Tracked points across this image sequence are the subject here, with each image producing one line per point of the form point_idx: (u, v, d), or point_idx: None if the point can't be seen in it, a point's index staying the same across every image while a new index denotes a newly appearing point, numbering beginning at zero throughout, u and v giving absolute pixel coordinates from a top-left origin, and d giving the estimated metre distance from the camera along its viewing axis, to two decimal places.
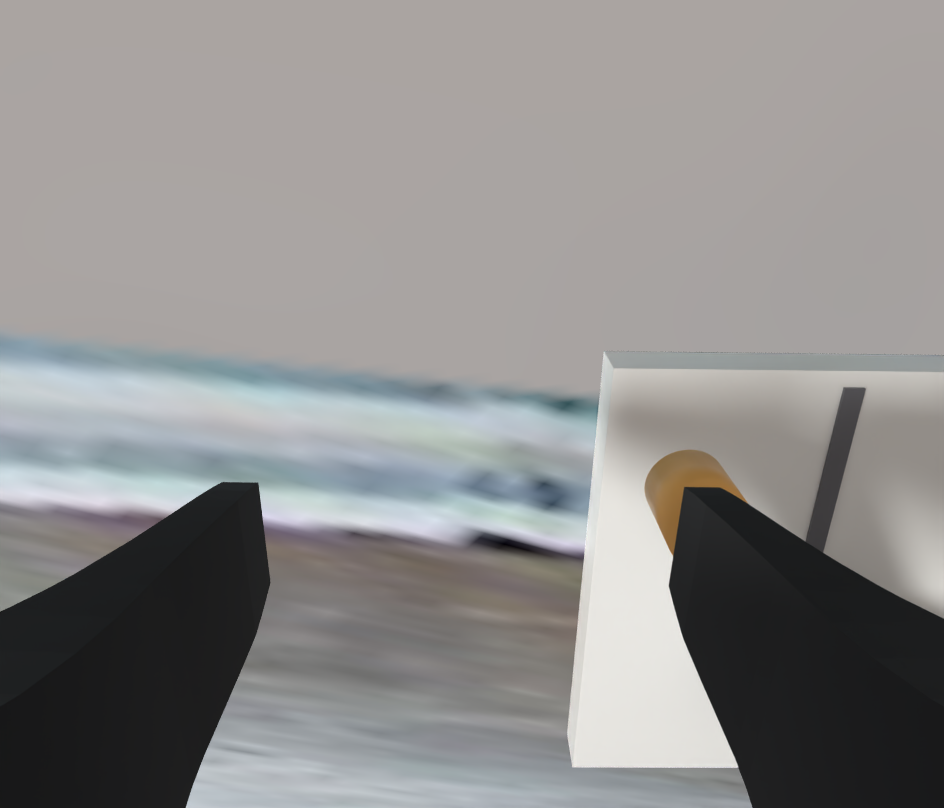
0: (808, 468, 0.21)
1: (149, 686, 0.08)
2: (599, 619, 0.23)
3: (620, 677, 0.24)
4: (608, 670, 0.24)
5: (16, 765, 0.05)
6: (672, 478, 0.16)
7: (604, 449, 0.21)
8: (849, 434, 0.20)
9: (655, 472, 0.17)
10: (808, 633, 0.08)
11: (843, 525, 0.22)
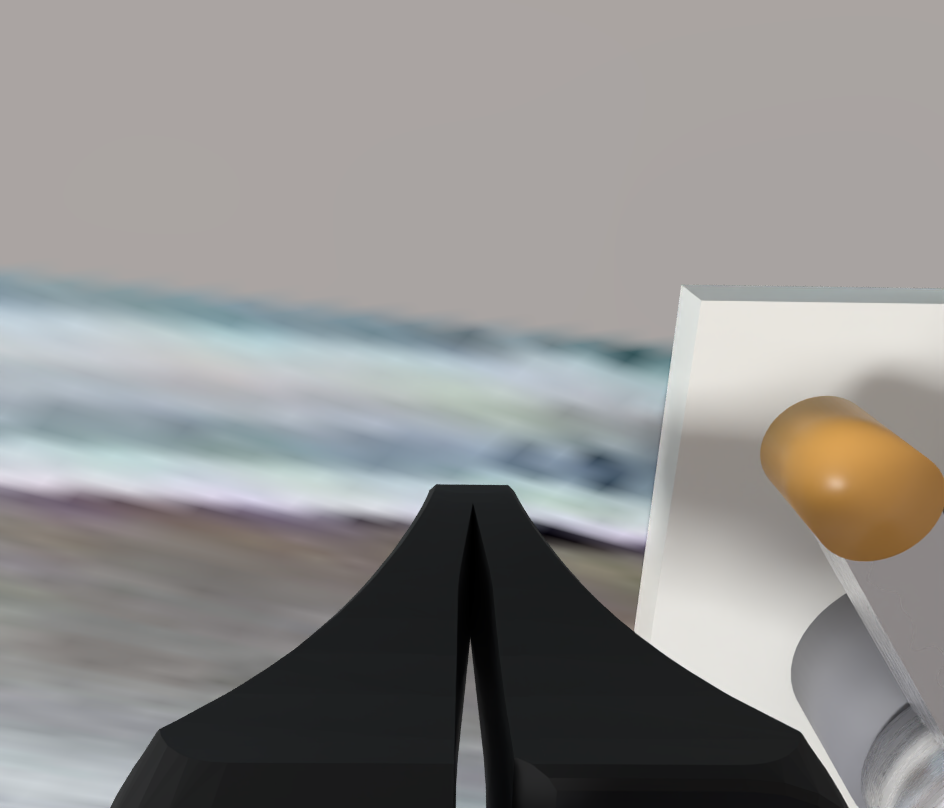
0: None
1: None
2: (667, 628, 0.18)
3: None
4: None
5: None
6: (812, 432, 0.11)
7: (683, 409, 0.16)
8: None
9: (779, 426, 0.12)
10: (493, 631, 0.08)
11: None
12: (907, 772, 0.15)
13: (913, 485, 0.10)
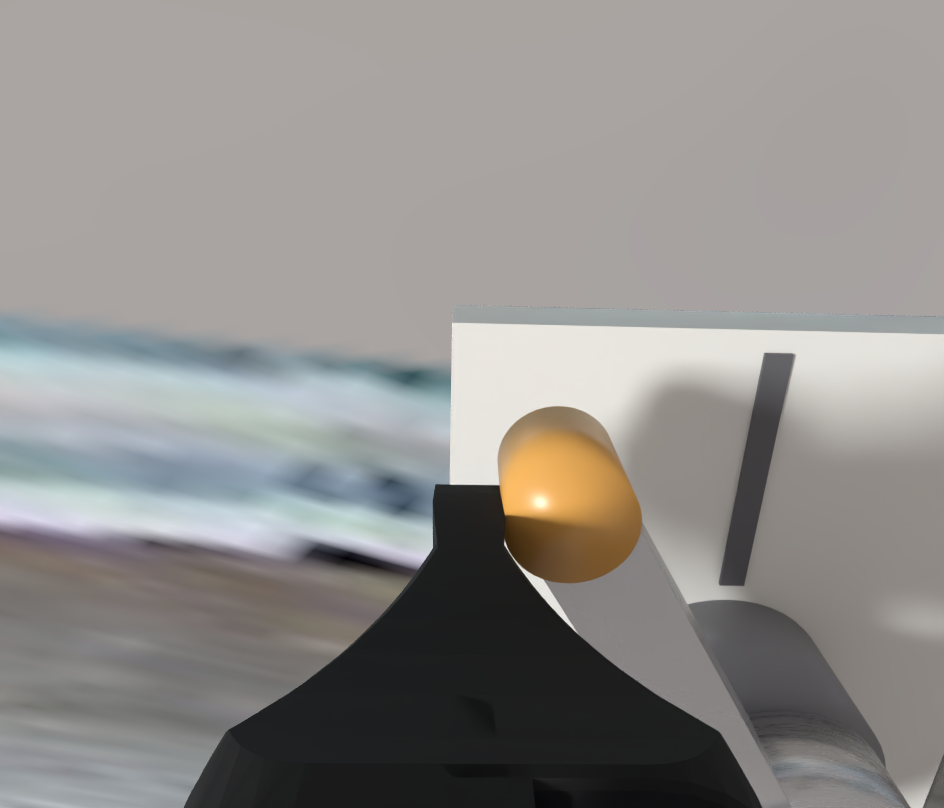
0: (722, 462, 0.16)
1: None
2: None
3: None
4: None
5: None
6: (527, 442, 0.11)
7: None
8: (773, 417, 0.15)
9: (510, 435, 0.11)
10: None
11: (772, 539, 0.17)
12: None
13: (606, 505, 0.10)
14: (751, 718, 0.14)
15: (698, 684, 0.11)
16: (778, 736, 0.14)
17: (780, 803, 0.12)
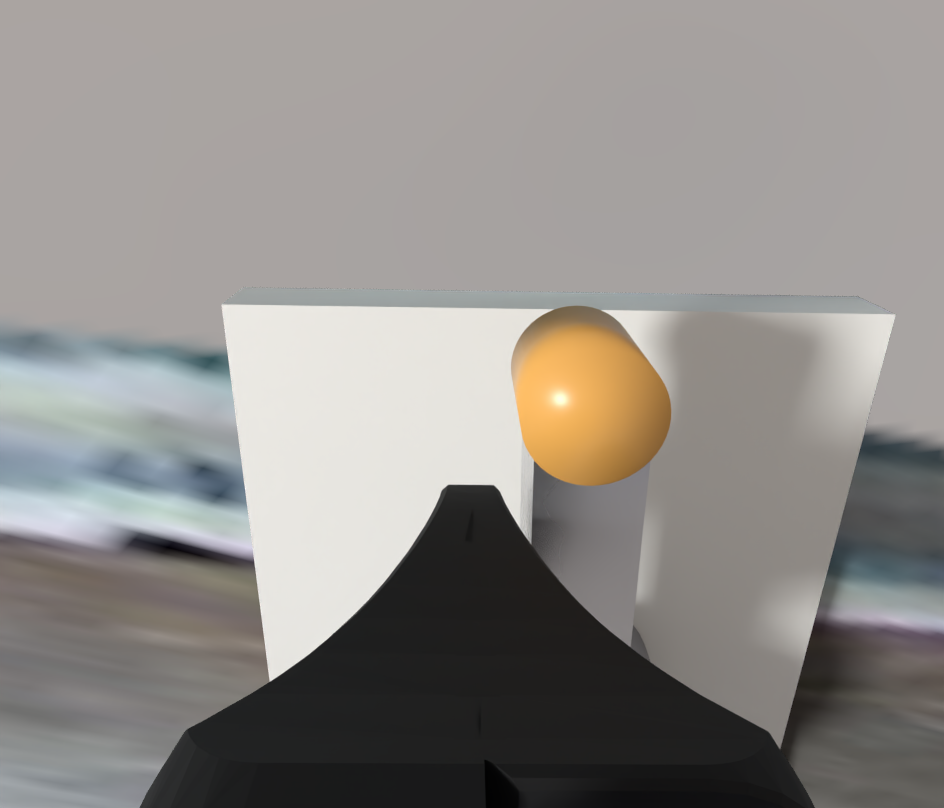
0: (517, 445, 0.15)
1: None
2: (280, 646, 0.18)
3: None
4: None
5: None
6: (577, 324, 0.10)
7: None
8: None
9: (551, 315, 0.10)
10: None
11: None
12: None
13: (639, 413, 0.09)
14: None
15: None
16: None
17: None
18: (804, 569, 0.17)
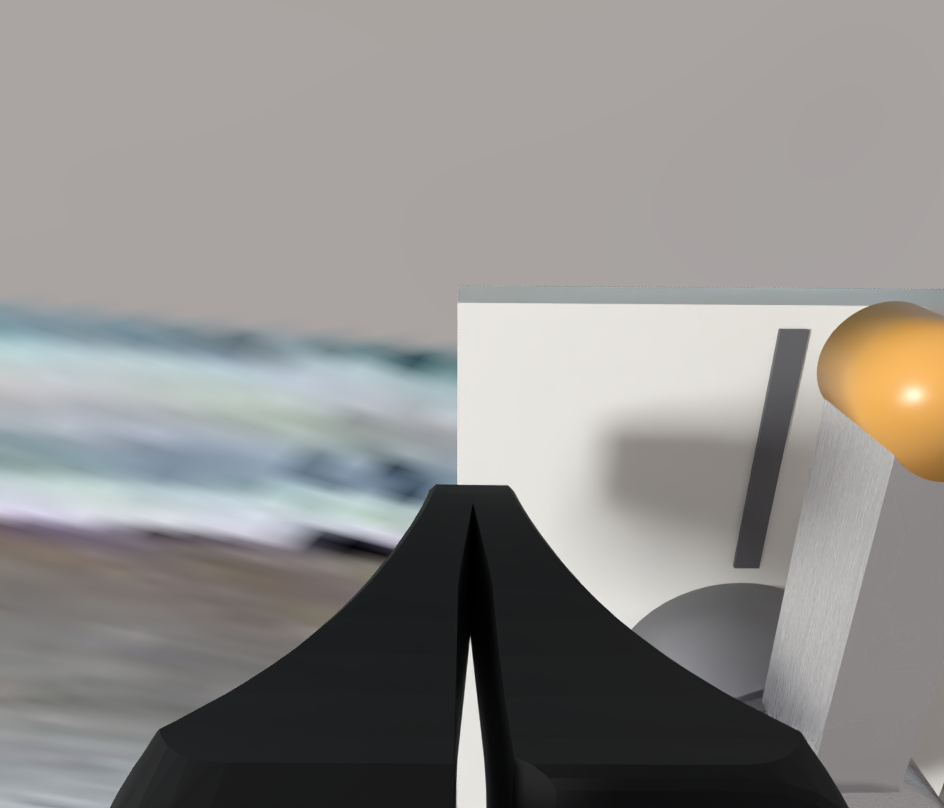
0: (736, 442, 0.15)
1: None
2: None
3: None
4: None
5: (454, 767, 0.06)
6: (925, 319, 0.10)
7: None
8: (789, 395, 0.15)
9: (875, 311, 0.10)
10: (493, 631, 0.08)
11: (787, 520, 0.16)
12: None
13: None
14: None
15: (928, 635, 0.11)
16: None
17: (892, 784, 0.12)
18: None
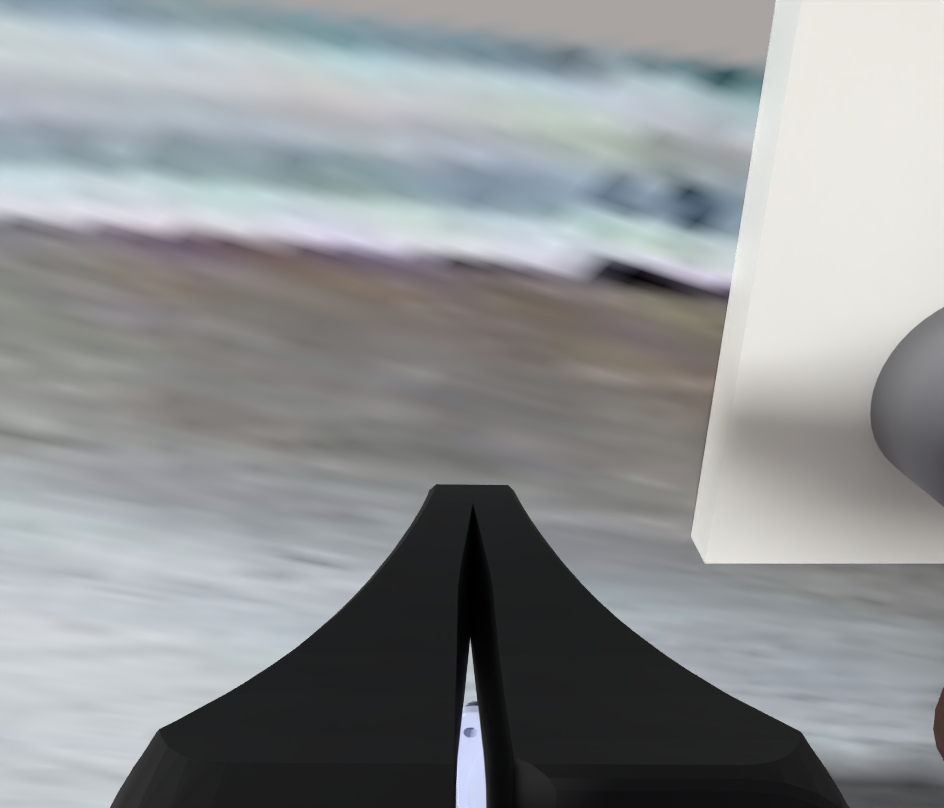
0: None
1: None
2: (754, 357, 0.19)
3: (772, 439, 0.20)
4: (758, 429, 0.20)
5: (454, 767, 0.06)
6: None
7: (780, 112, 0.17)
8: None
9: None
10: (493, 631, 0.08)
11: None
12: None
13: None
14: None
15: None
16: None
17: None
18: None
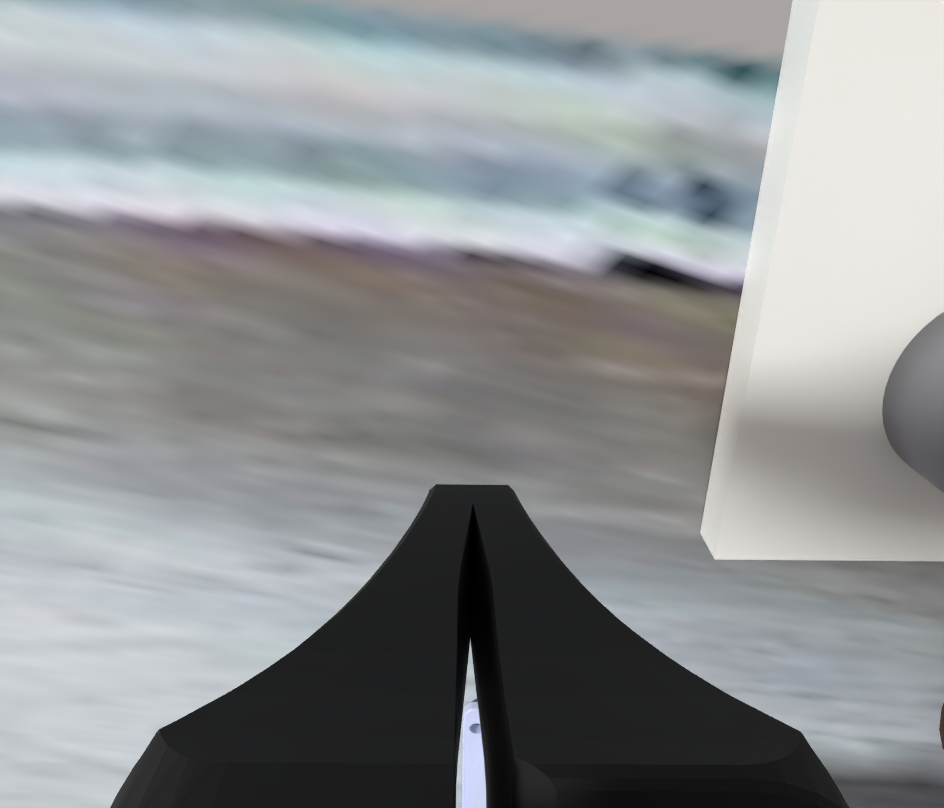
0: None
1: None
2: (767, 352, 0.19)
3: (784, 435, 0.20)
4: (770, 425, 0.20)
5: None
6: None
7: (797, 107, 0.17)
8: None
9: None
10: (493, 631, 0.08)
11: None
12: None
13: None
14: None
15: None
16: None
17: None
18: None
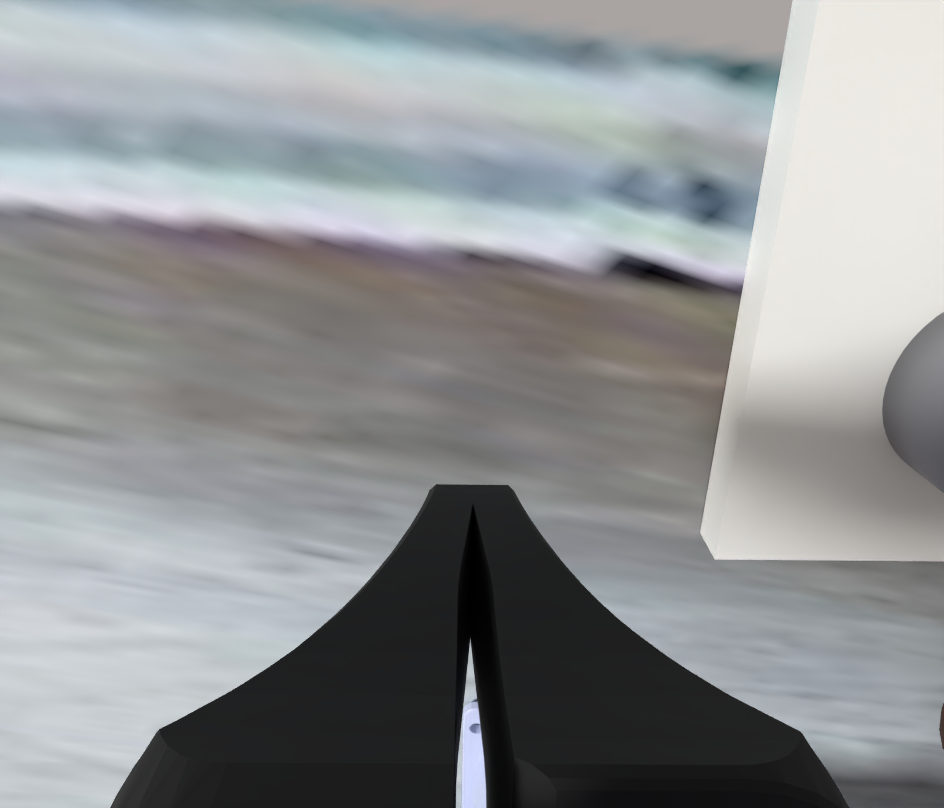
0: None
1: None
2: (767, 352, 0.19)
3: (784, 435, 0.20)
4: (770, 425, 0.20)
5: None
6: None
7: (797, 107, 0.17)
8: None
9: None
10: (493, 631, 0.08)
11: None
12: None
13: None
14: None
15: None
16: None
17: None
18: None
